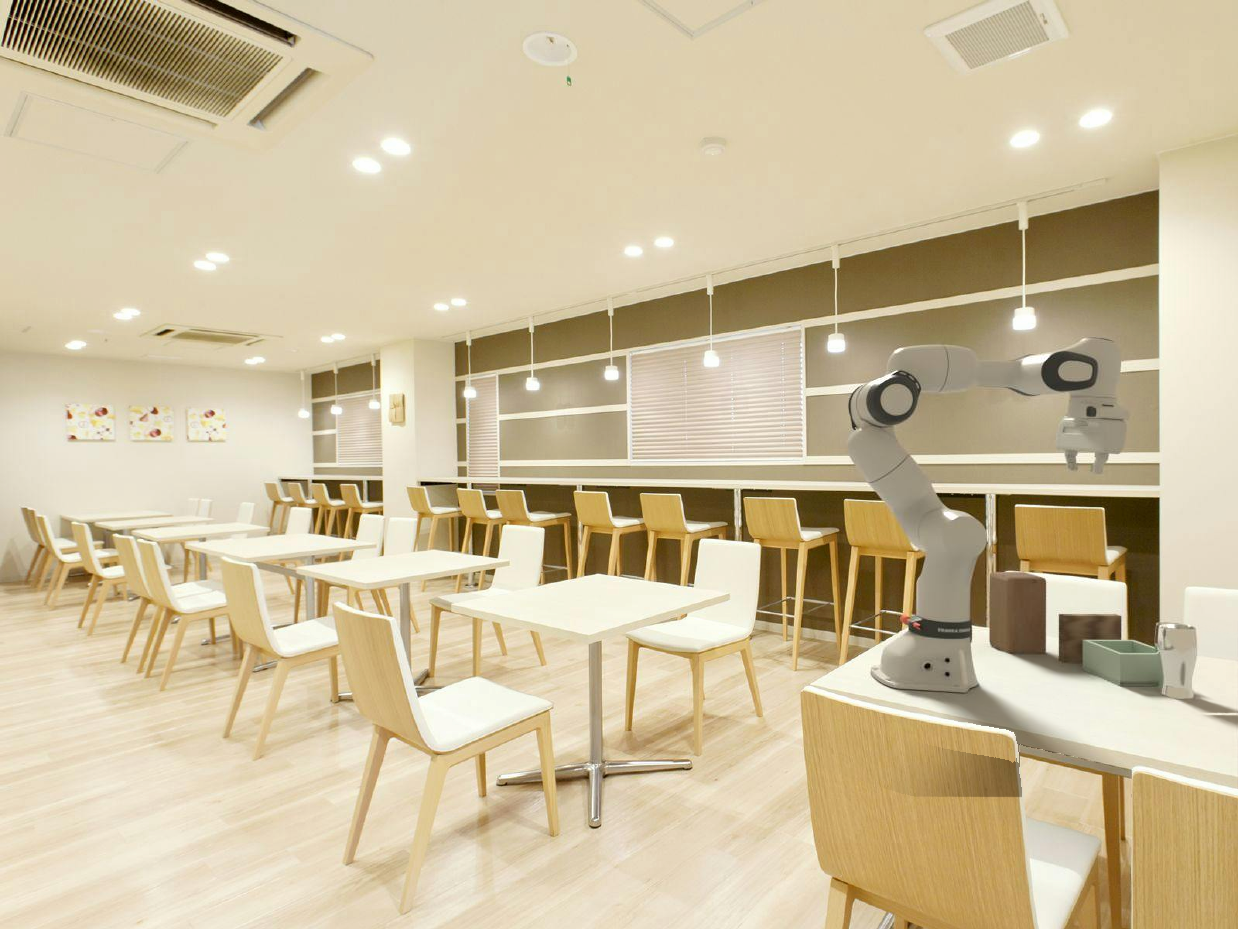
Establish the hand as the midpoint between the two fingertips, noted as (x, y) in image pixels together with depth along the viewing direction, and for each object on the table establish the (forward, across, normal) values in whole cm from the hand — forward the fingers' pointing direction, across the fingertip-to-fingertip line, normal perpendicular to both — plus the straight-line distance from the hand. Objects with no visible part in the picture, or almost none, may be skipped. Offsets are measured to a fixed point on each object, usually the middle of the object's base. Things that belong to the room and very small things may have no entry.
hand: (1083, 472), depth 153 cm
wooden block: (+49, -21, +1) cm, 53 cm away
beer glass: (+46, +13, +17) cm, 50 cm away
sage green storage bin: (+46, +2, +14) cm, 48 cm away
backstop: (+47, -1, +14) cm, 49 cm away
